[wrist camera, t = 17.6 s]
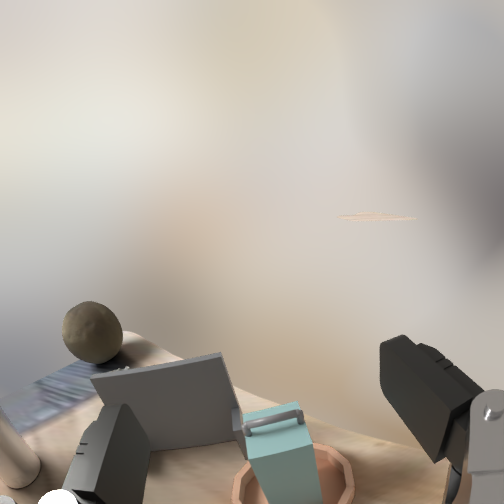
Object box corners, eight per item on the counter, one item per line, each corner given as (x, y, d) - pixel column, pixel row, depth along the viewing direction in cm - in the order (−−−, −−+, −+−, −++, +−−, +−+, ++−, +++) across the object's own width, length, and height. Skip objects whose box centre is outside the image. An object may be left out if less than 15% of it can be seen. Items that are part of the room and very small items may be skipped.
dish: (216, 513, 24) (209, 504, 23) (275, 443, 34) (271, 431, 33) (320, 555, 17) (319, 549, 16) (369, 464, 26) (370, 453, 26)
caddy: (323, 505, 22) (310, 431, 19) (275, 517, 22) (243, 447, 19) (311, 469, 28) (294, 388, 24) (268, 480, 27) (238, 402, 24)
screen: (253, 458, 32) (221, 377, 28) (131, 471, 31) (79, 397, 28) (249, 432, 37) (220, 352, 33) (136, 447, 36) (92, 374, 32)
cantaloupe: (87, 353, 69) (64, 301, 65) (134, 341, 71) (113, 287, 68) (74, 382, 55) (45, 323, 52) (128, 371, 58) (101, 308, 54)
